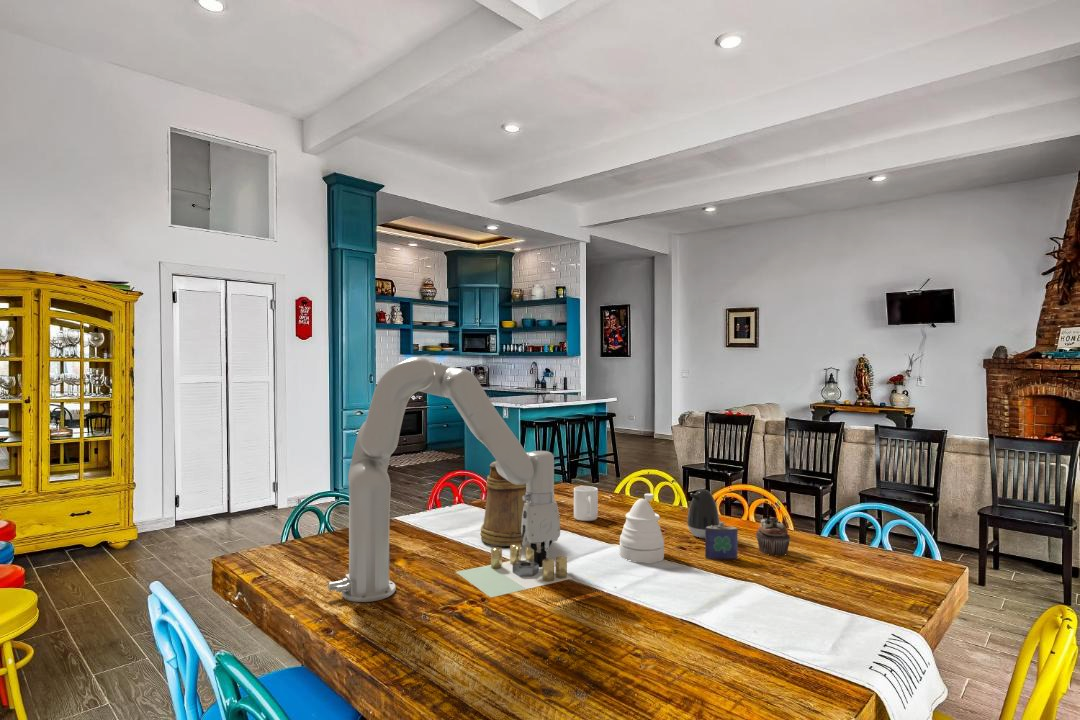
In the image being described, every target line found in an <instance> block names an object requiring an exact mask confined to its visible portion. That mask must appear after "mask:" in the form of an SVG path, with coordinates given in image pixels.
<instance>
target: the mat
mask: <svg viewBox="0 0 1080 720" xmlns="http://www.w3.org/2000/svg"><path fill="white" fill-rule="evenodd" d="M521 560H526V557H521ZM455 574H457V575H459V576H460V577H461V578H463V579H464V580H466V581H467V582H469V583H470V584H471V585H472V586H474V587H475V588H477V589H478V590H480V591H481V592H482V593H483V594H485V595H486V596H488V597H489V598H495V597H499V596H504V595H508V594H512V593H516V592H521V591H525V590H529V589H532V588H533V589H534V588H538V587H542V586H546V585H551V584H555V583H559V582H562V581H563V582H564V581H568V580H572V579H573V577H572V576H570V575H568V574H567V577H566V578H564V579H559V578H556V577H555V567H554V581H551V582H546V581H543V580H542V576H543V567H539V572H538V573H537V574H536V575H534V576H531V577H519V576H517V575H516V574H514V573H513V565H511V564H510V560H507V561H502V568H500V569H492V568H491V564H488V565H484V566H483V565H482V566H479V567H473V568H468V569H463V570H459V571H458V570H457V571H455Z"/></svg>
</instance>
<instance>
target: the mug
mask: <svg viewBox="0 0 1080 720" xmlns="http://www.w3.org/2000/svg"><path fill="white" fill-rule="evenodd" d="M598 499H599V489H598V487H595V486H591V485H590V486H589V485H579V486H575V487H573V518H574V519H575V520H577V521H582V522H591V521H595V520H597V519H598V516H599V512H598V511H599V509H598V508H599V506H598V505H599V501H598Z"/></svg>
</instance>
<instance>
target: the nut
mask: <svg viewBox="0 0 1080 720" xmlns="http://www.w3.org/2000/svg"><path fill="white" fill-rule="evenodd" d="M538 572H539V564H538V563H536V562H534V561H532V560H519V561H517V562H516V563H514V564H513V573H514V574H516V575H517V576H519V577H531V576H534V575H536V574H537V573H538Z"/></svg>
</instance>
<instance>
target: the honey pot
mask: <svg viewBox="0 0 1080 720" xmlns="http://www.w3.org/2000/svg"><path fill="white" fill-rule="evenodd" d="M643 495H644V496H643V497H644V498H639V499H637V500H636V501H635V502H634V504H633V505H632V506H631V508H630V510H629V511H628V512H627V513H625V516H624V517H625V523H624V524H623V526H622V527H623V528H622V531H621V534H620V536H619V557H620V556H621V557H620V558H622V559H623V558H625V559H627V560H626V561H628V560H631V561H636V562H635V563H637V562H654V563H658V562H657V561H659V562H661V561H662V560H664V558H665V537H664V536H663V531H662V530H661V526H660V524H659V522H658V521H659V520H660V519H661V517H660V514H658V513H656V512H655V511H654V509H653V507H652V506H651V504H650V503H649V502H651V501H652V500H653V498H654V494H653V493H644V494H643ZM625 559H624V560H625ZM631 561H630V562H631Z"/></svg>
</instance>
